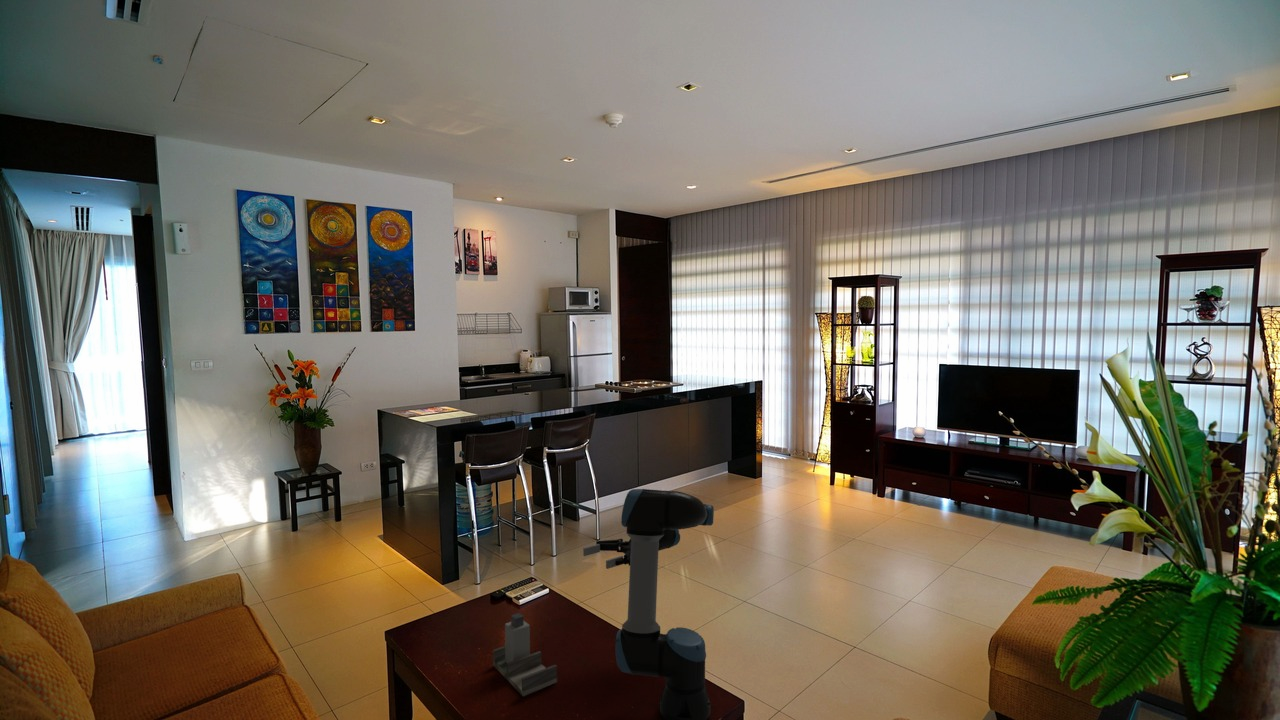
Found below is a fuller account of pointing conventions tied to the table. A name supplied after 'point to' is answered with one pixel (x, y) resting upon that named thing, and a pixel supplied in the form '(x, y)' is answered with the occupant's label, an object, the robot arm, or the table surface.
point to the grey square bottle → (517, 638)
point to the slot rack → (525, 671)
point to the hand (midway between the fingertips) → (594, 558)
